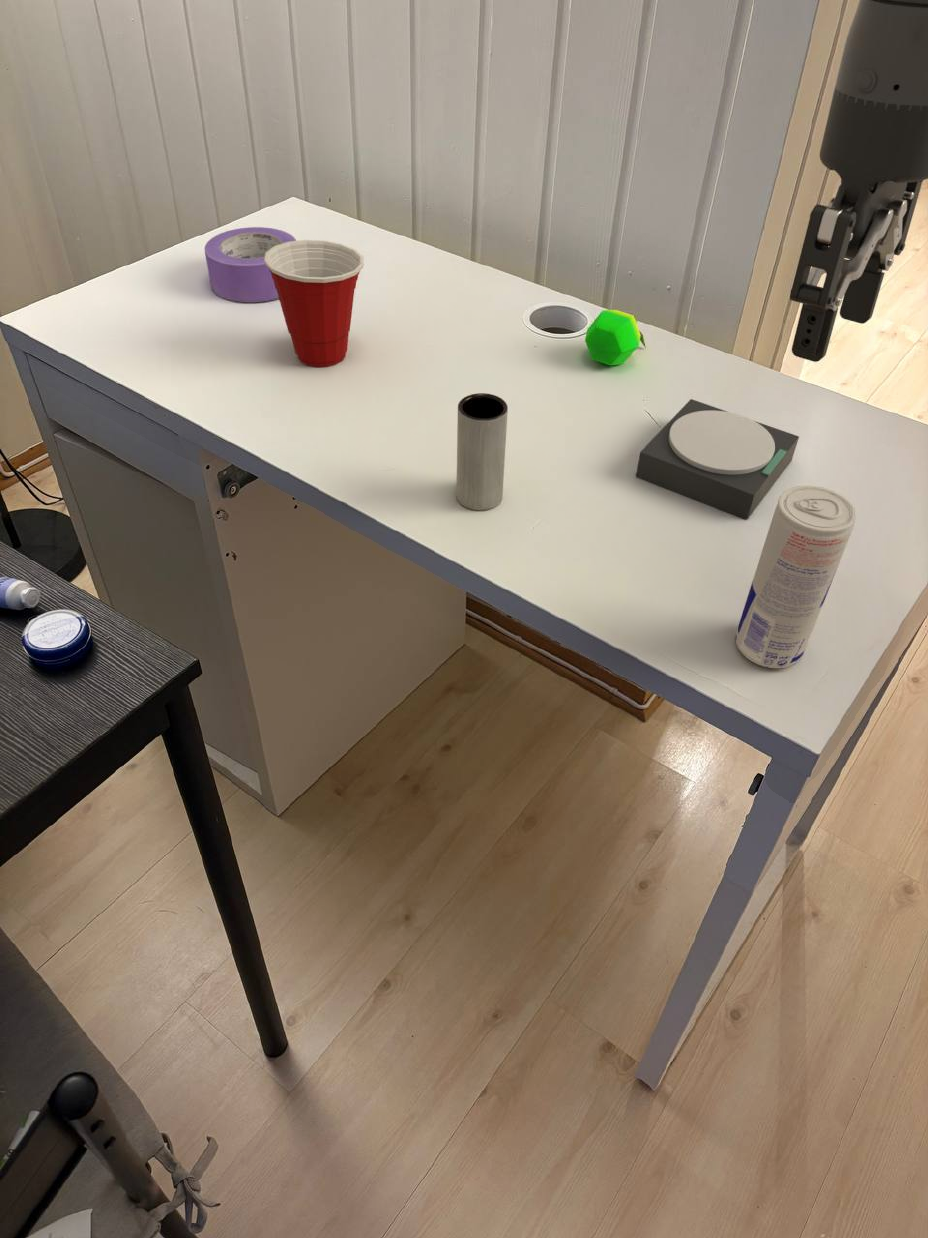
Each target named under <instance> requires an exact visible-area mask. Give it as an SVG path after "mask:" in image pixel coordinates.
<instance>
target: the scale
mask: <svg viewBox="0 0 928 1238" xmlns="http://www.w3.org/2000/svg"><path fill="white" fill-rule="evenodd" d="M799 439H800V436H799V435H796V434H793V433H791V432H787V431H785V430H781V429H779V428H776V427H773V426H770V425H767V424H764V423H763V422H759V421H756V420H754V419H751V418H749V417H747V416H744V415H741V414H738V413H735V412H730V411H727V410H724V409H721V408H718V407H715V406H713V405H710V404H707V403H704V402H702V401H698V400H696V399H693V398H691V399H689V400H688V401H687V402H686V403H685V405H684V406H683V407H681V409H679V411H678V412H676V414H675V415H674V416H673V417H672V418H671V419H670V420H669V421H668V422H667V423H666V424H665V425H664V426H663V428H662V429H660V431H659V432H657V434H656V435H654V437H653V438H652V439H651V440H650V441H649V442H648V443H647V444H646V445H645V446H644V447H643V449H642V450H640V452H639V455H638V461H637V467H636V473H635V477H637V478H639V479H640V480H641V479H642V480H644V481H647V482H649V483H652V484H655V485H656V486H659V487H662V488H664V489H667V490H670V491H672V492H675V493H677V494H680V495H682V496H685V497H688V498H690V499H693V500H695V501H698V502H701V503H702V504H705V505H708V506H710V507H713V508H716V509H718V510H721V511H723V512H726V513H729V514H732V515H733V516H736V517H739V518H741V519H744V520H746V521H747V520H748V519H749V518H750V517H751V516H752V514H753V513H754V512H755V510H756V509H757V508H758V506H759V505H760V504H761V502H762V501H763V499H764V498H765V497H766V496H767V494H768V493H769V491H770V490H771V489H772V488H773V486H774V485H775V483H776V482H777V481H778V480H779V478H781V476H782V474H783V473H784V472H785V470H786V469H787V468H788V466H789V465H790V463H791V462H792V461H793V459H794V454H795V451H796V448H797V445H798V442H799Z"/></svg>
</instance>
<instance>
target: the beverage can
mask: <svg viewBox="0 0 928 1238" xmlns="http://www.w3.org/2000/svg"><path fill="white" fill-rule="evenodd" d="M856 520H857V510H856V508H855V506H854V505H853V503H852V502H851V501H850V500H849V499H848V498H846V496H843V494H841V493H839V492H837V491H834V490H832V489H829V488H826V487H822V486H816V485H798V486H797V485H796V486H793V487H790V488H787V489H786V490H784V491H783V492H782V493H781V494H780V496H779V497H778V500H777V504H776V506H775V509H774V512H773V515H772V518H771V522H770V525H769V528H768V531H767V534H766V537H765V540H764V544H763V547H762V549H761V553H760V556H759V559H758V562H757V566H756V569H755V572H754V575H753V579H752V582H751V585H750V588H749V592H748V594H747V597H746V601H745V603H744V607H743V610H742V613H741V616H740V620H739V623H738V625H737V628H736V632H735V638H734V639H735V644H736V646H737V649H738V650H739V652H740V653H741V654H742V656H744V657H745V658H747V660H749V661H750V662H752V663H754V664H756V665H758V666H761V667H764V668H769V669H770V668H771V669H785V668H789V667H792V666H795V665H797V664H798V663H799V662H800V661H801V660H802V658H803V656H804V653H805V651H806V649H807V646H808V644H809V641H810V638H811V636H812V633H813V631H814V628H815V626H816V623H817V620H818V618H819V616H820V614H821V612H822V611H821V610H822V609H823V605H824V603H825V600H826V598H827V595H828V594H829V590H830V588H831V585H832V583H833V580H834V577H835V576H836V573H837V570H838V568H839V566H840V564H841V563H840V562H841V561H842V558H843V555H844V553H845V550H846V548H847V545H848V542H849V541H850V537H851V535H852V532H853V530H854V525H855V523H856Z"/></svg>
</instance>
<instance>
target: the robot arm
mask: <svg viewBox="0 0 928 1238" xmlns="http://www.w3.org/2000/svg"><path fill="white" fill-rule="evenodd" d="M833 89H834V90H833V93H832V98H831V101H830V102H831V103H830V106H829V111H828V116H827V120H826V125H825V128H824V134H823V137H822V141H821V146H820V150H819V160H820V162H821V164H822V165H823V166H824V167H825V168H827V169H828V170H830V171H834V172H835V173H836V174H837V175H838V176H839V177H840V184H839V186H838V188H837V191H836V194H835V197H832V198H831V199H830V200H829V203H828V205H824V204H823V205H822V204H819V203H816V204H815V205H814V206H813V208H812V210H811V212H810V214H809V220H808V224H807V228H806V232H805V236H804V239H803V243H802V247H801V250H800V255H799V259H798V262H797V267H796V271H795V274H794V279H793V282H792V286H791V289H790V294H789V300H790V301H792V302H795V303H798V304H799V303H800V304H802V305H801V309H800V313H799V317H798V321H797V326H796V328H795V329H796V330H795V333H794V338H793V341H792V345H791V352H792V354H793V356H795V357H796V358H800V359H803V360H807V361H810V362H813V363H817V362H820V361H821V360H822V359H824V358H825V356H826V355H827V352H828V349H829V348H828V347H829V344H830V342H831V341H830V340H831V337H832V333H833V330H834V325H835V323H836V319H837V314H838V311H839V316H840V318H841V319H843V320H846V321H850V322H853V323H858V324H862V325H863V324H866V323H867V322H868V321H869V320H871V319H872V317H873V314H874V311H875V308H876V304H877V302H878V301H877V300H878V297H879V293H880V291H881V288H882V284H883V281H884V277H885V272H883V271H886V272H888V271H889V269H890V268H891V267H892V266H893V264H894V258H895V256H900V255H901V253H902V252H903V251H904V249H905V247H906V241H907V237H908V233H909V230H910V226H911V223H912V220H913V217H914V213H915V209H916V206H917V203H918V200H919V195H920V192H921V189H922V185H923V182H924V181H926V180H928V0H858V4H857V7H856V10H855V13H854V16H853V18H852V21H851V24H850V27H849V29H848V33H847V35H846V40H845V43H844V47H843V51H842V55H841V59H840V63H839V68H838V73H837V77H836V81H835V86H834V88H833ZM824 274H826V275H825V279H824V282H823V286H818V284H819V282H820V280H821V278H822V276H823V275H824ZM839 307H840V309H839Z"/></svg>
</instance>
